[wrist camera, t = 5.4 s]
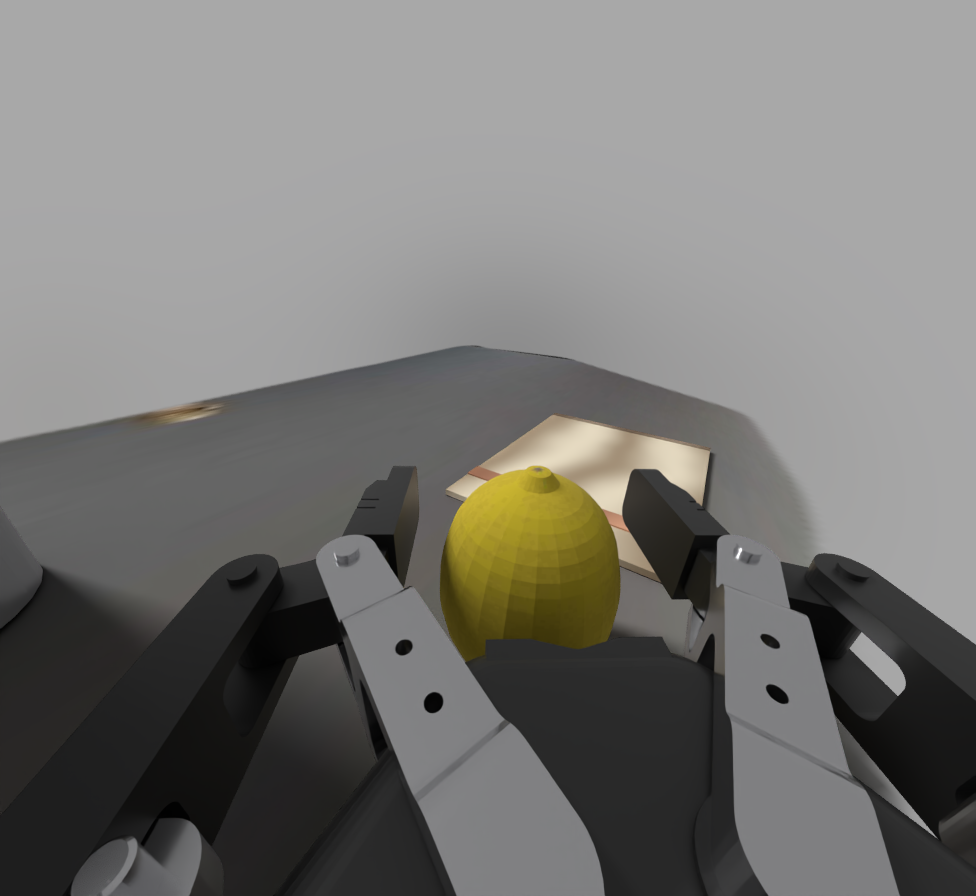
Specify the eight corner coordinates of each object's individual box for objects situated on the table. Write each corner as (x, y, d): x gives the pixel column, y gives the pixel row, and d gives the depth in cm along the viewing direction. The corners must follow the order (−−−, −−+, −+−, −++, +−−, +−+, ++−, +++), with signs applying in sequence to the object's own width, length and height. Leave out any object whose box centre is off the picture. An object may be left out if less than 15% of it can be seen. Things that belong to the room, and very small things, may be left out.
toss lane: (446, 494, 23) (445, 487, 22) (555, 416, 36) (555, 412, 36) (687, 593, 16) (690, 585, 16) (708, 452, 30) (710, 446, 29)
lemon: (557, 588, 16) (583, 425, 12) (627, 724, 11) (702, 519, 8) (435, 609, 15) (427, 434, 11) (454, 771, 10) (450, 554, 6)
